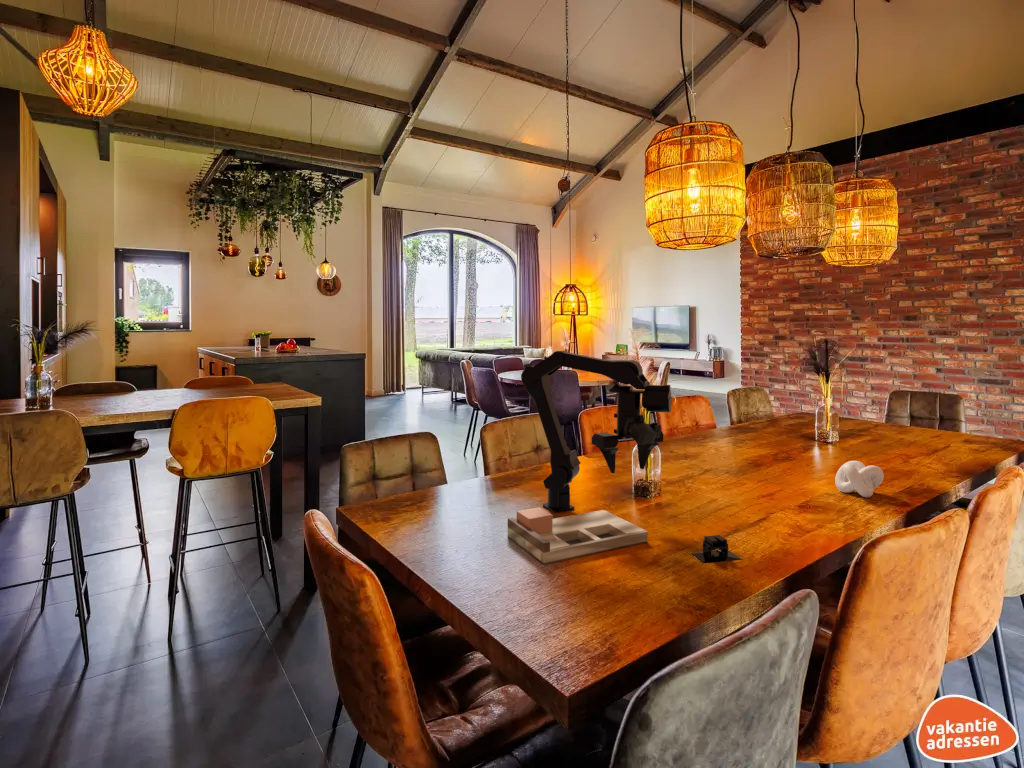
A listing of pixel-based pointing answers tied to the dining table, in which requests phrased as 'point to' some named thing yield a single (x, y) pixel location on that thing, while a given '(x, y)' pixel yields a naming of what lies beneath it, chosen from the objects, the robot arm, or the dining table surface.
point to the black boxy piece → (715, 555)
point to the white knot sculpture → (858, 478)
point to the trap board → (577, 536)
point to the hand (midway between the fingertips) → (627, 470)
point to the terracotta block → (536, 520)
